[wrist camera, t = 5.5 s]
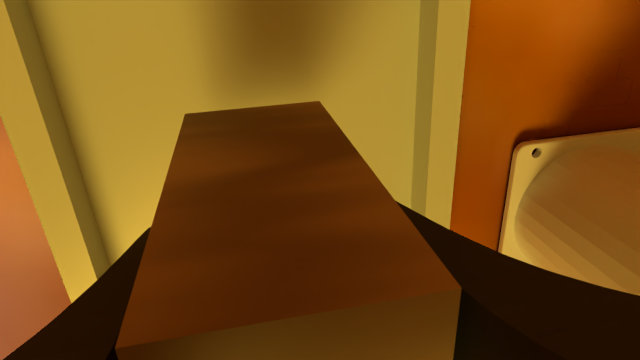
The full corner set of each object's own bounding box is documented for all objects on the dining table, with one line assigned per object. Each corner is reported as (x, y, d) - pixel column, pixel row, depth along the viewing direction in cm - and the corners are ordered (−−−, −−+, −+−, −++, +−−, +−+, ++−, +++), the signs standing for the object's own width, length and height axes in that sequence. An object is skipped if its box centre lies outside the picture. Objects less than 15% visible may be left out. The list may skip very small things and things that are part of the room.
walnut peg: (319, 100, 13) (461, 288, 5) (324, 214, 15) (437, 484, 7) (185, 113, 13) (114, 349, 5) (206, 230, 14) (182, 548, 6)
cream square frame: (449, -106, 16) (481, -118, 14) (425, 257, 23) (444, 284, 21) (-38, -93, 13) (-84, -105, 11) (101, 310, 20) (87, 346, 18)
